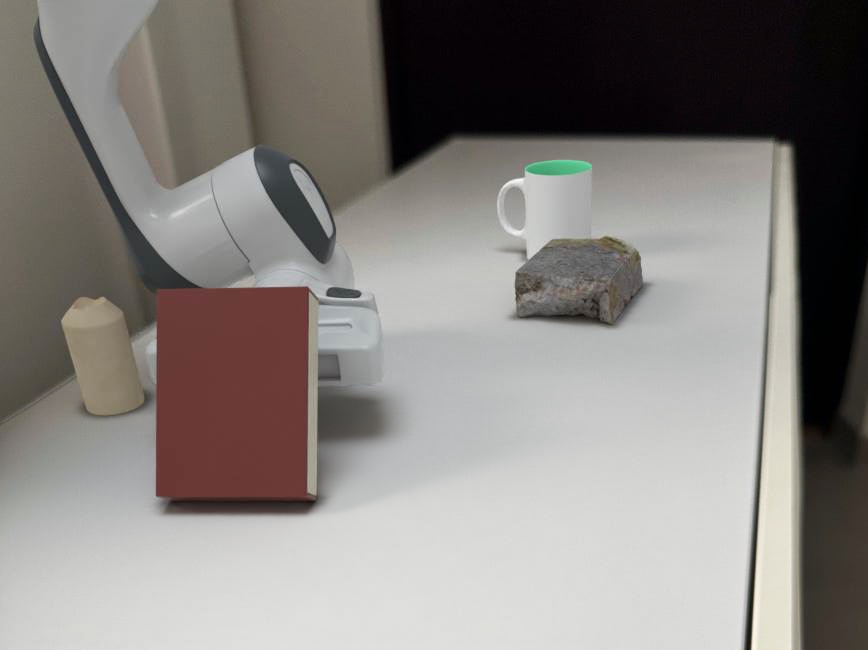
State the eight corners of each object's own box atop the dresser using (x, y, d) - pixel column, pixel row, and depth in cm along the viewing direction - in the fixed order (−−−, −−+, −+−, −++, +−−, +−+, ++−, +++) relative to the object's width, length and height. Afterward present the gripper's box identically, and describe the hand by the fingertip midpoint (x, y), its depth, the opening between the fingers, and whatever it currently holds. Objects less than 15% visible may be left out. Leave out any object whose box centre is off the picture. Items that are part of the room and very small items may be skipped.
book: (155, 496, 82) (156, 288, 81) (170, 500, 85) (171, 300, 84) (307, 496, 80) (309, 285, 80) (317, 501, 83) (319, 297, 83)
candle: (76, 405, 101) (46, 302, 96) (129, 388, 104) (102, 287, 98) (101, 421, 98) (71, 315, 92) (155, 403, 101) (129, 299, 95)
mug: (488, 262, 132) (484, 173, 126) (508, 244, 138) (505, 158, 132) (581, 267, 128) (582, 176, 122) (597, 248, 134) (599, 160, 128)
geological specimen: (510, 274, 111) (555, 227, 122) (515, 330, 115) (557, 280, 125) (608, 278, 107) (645, 230, 118) (610, 335, 111) (645, 283, 122)
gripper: (166, 297, 94) (111, 357, 83) (391, 291, 92) (365, 352, 81) (182, 364, 98) (131, 430, 87) (398, 360, 96) (374, 426, 85)
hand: (246, 392), depth 84 cm, fingers closed, pressing on book
